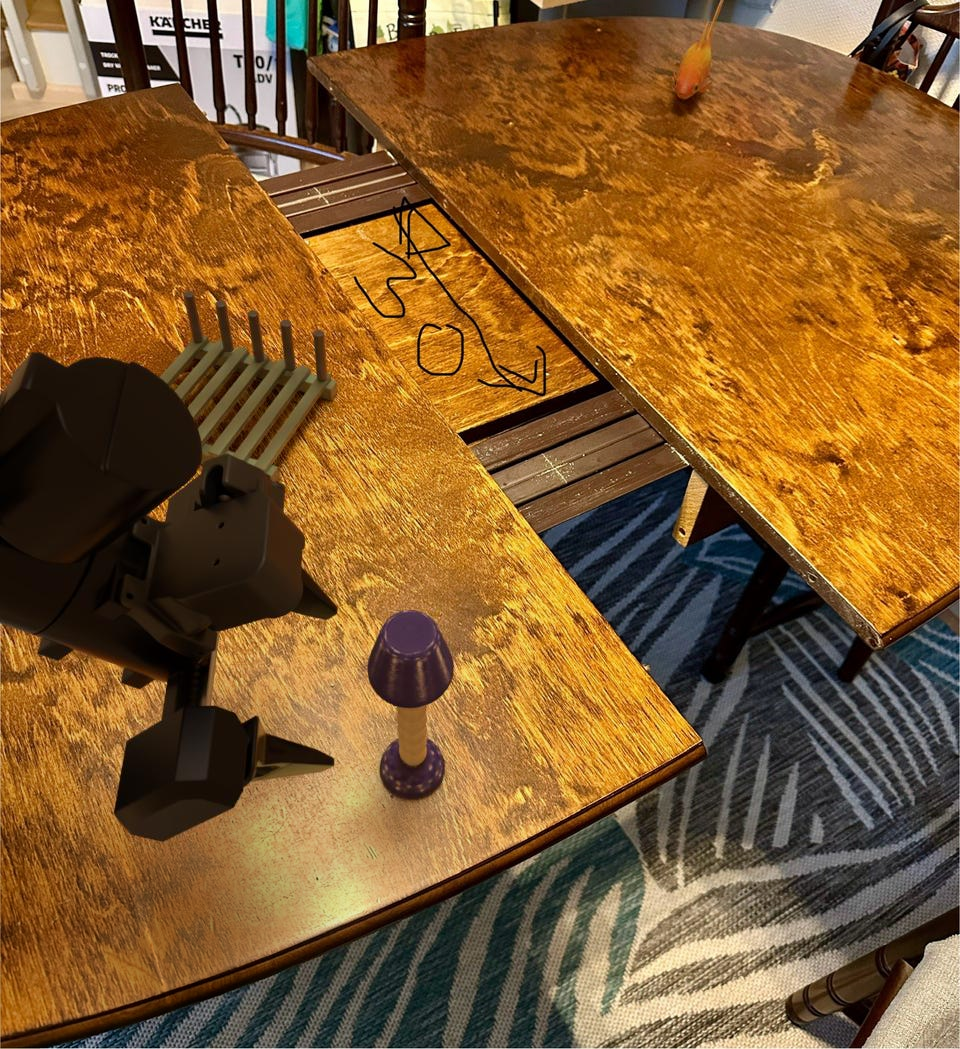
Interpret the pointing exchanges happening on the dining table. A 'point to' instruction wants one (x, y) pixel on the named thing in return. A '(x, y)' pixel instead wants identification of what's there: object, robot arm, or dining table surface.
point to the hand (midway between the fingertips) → (331, 685)
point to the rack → (250, 369)
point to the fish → (696, 64)
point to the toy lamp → (411, 698)
